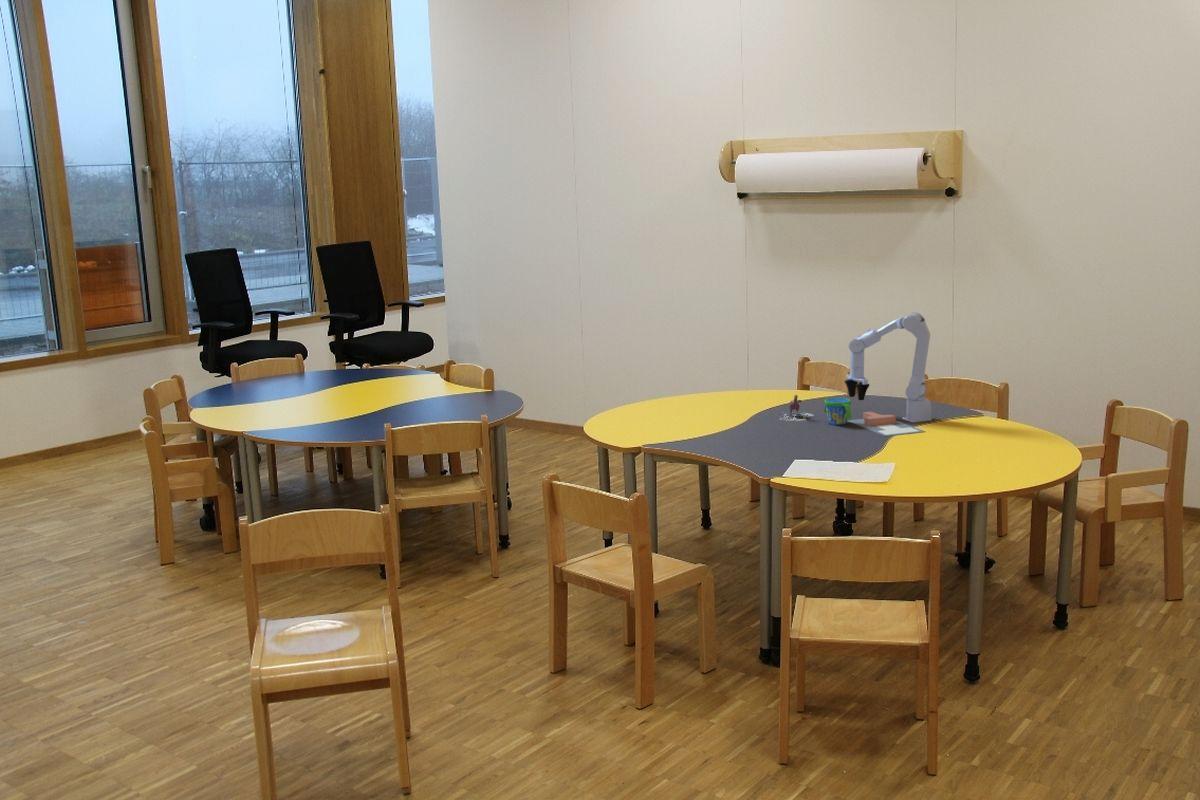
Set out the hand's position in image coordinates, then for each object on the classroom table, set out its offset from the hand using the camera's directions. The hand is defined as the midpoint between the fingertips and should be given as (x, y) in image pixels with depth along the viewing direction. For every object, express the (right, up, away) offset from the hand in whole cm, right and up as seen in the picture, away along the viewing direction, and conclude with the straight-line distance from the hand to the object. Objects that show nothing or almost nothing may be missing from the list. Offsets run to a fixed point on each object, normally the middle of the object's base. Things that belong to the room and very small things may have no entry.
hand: (856, 398), depth 478 cm
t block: (+5, -10, -14) cm, 18 cm away
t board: (+7, -11, -20) cm, 24 cm away
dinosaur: (-26, -8, +4) cm, 27 cm away
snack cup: (-11, -11, -13) cm, 20 cm away
